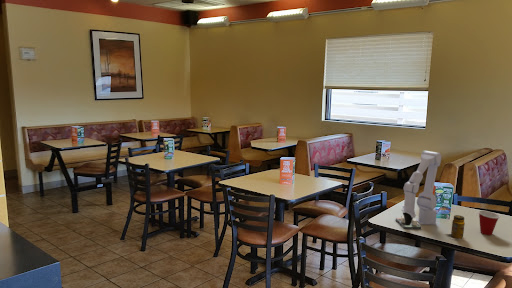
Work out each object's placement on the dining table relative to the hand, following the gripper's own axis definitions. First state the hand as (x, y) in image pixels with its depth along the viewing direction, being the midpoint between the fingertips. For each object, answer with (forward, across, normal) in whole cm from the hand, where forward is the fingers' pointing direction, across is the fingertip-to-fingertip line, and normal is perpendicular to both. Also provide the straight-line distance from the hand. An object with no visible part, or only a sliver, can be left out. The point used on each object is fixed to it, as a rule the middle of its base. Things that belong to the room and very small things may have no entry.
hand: (407, 225), depth 229 cm
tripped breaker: (+1, -7, 0) cm, 7 cm away
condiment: (+3, +10, +23) cm, 25 cm away
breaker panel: (+2, -7, +3) cm, 8 cm away
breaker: (0, -3, +5) cm, 6 cm away
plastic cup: (+3, +4, +44) cm, 44 cm away
